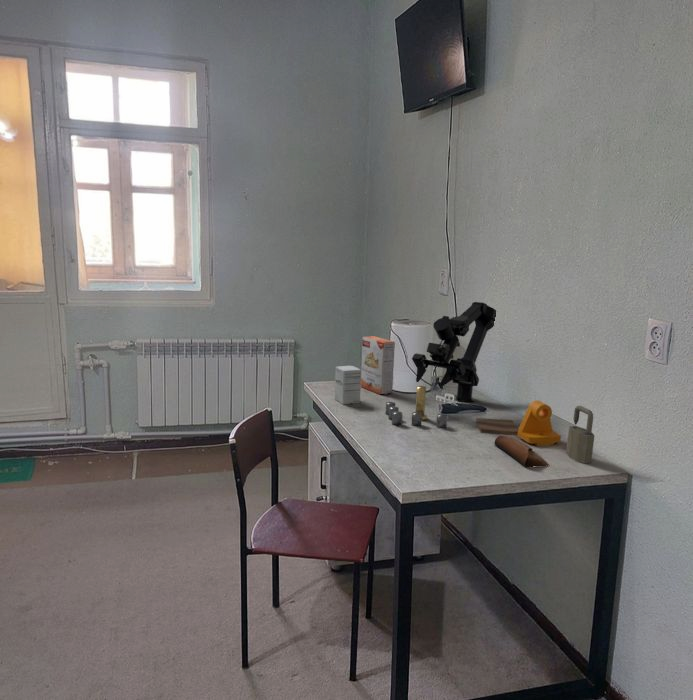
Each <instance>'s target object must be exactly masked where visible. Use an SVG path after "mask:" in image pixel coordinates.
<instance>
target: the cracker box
mask: <svg viewBox="0 0 693 700" xmlns="http://www.w3.org/2000/svg"><path fill="white" fill-rule="evenodd" d="M395 344H396V343H395V341H393V340H390V339H385V338H383V337H382V338H381V337H379V336H374V335H370V336H369V335H368V336H367V335H366V336H362V348H361V350H362V351H361V369H360V370H361V388H363V389H366V390H369V391H370V392H373V393H375V392H376V393H375V394H377V393H378V395H380V394H384V395H389V394H388V393H391V394H393V388H394V385H393V384H394V367H395V366H394V364H395V347H396V346H395Z"/></svg>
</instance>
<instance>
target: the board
mask: <svg viewBox="0 0 693 700" xmlns="http://www.w3.org/2000/svg"><path fill="white" fill-rule="evenodd" d="M475 423H476V425H477V427H478V429H479V431H480V433H485V434H486V433H488V434H500V435H501V434H502V435H514V436H515V435H517V436H518V429H519V428H518V427H517V426H516V424H515V422H514V421H513V420H511V419H498V418H479V417H478V418H477V417H476V419H475Z"/></svg>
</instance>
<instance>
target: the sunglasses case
mask: <svg viewBox="0 0 693 700" xmlns="http://www.w3.org/2000/svg"><path fill="white" fill-rule="evenodd" d="M494 445H495V446H496V447H498V448H500V449H502V450H503V451H505V452H506V453H507V454H508V455H510V456H511V457H513V459H515V460H517V461H518V463H520V464H522V465H523V466H524V467H525V468H526V467H533V466H546V465H549V466H550V464H549V463H548V462H547V461H546V460H545V459H544V458H543V457H542V456H540V455H539V454H538V453H537V452H535V451H534V450H533V448H532V447H531V446H530V445H527V444H526V443H523V442H521V441H520V440H518V439H517V438H512V437H509V436H508V435H507V436H506V435H499V436H497V437H496V438H495V439H494ZM546 467H547V466H546Z"/></svg>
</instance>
